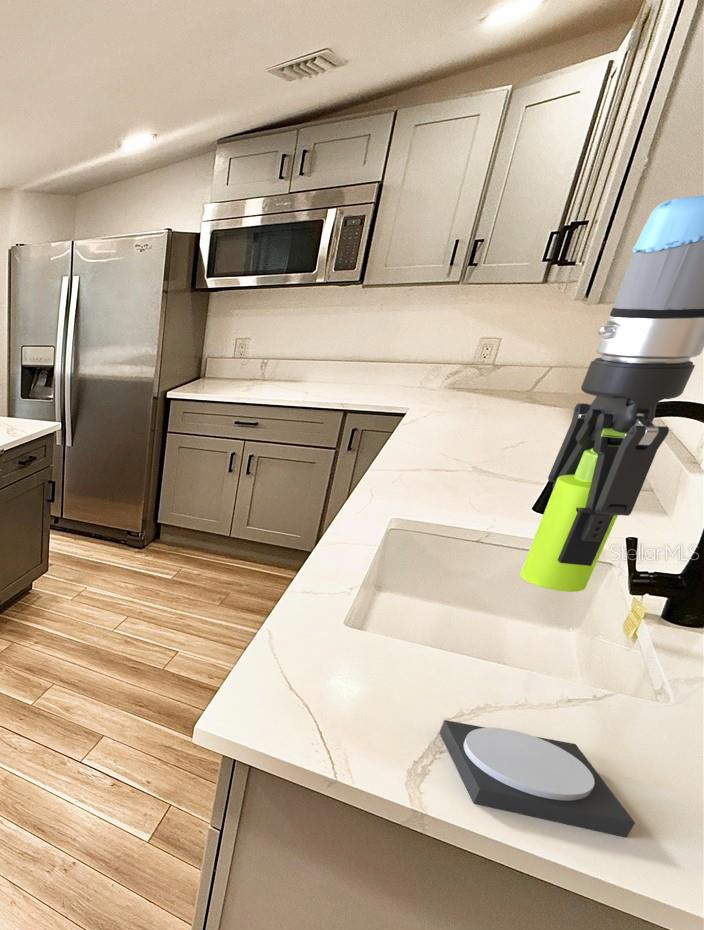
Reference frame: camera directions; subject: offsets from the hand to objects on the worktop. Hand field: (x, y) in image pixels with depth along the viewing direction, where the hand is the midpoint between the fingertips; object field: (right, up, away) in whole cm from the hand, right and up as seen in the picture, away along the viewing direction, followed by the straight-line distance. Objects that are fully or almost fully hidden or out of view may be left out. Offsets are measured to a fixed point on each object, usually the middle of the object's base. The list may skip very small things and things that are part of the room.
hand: (561, 551), depth 75 cm
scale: (0, -30, +4) cm, 30 cm away
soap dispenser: (0, -4, +1) cm, 4 cm away
